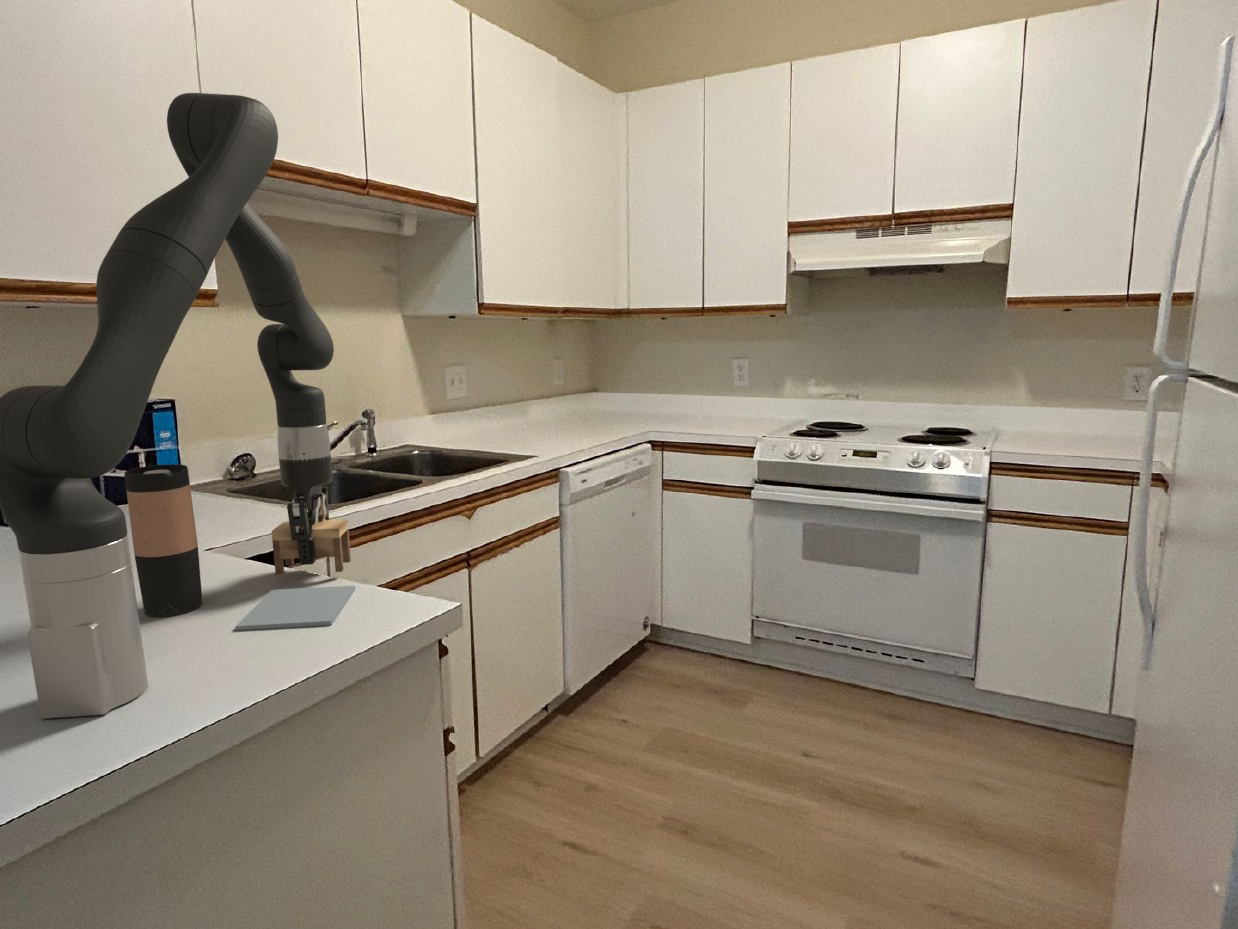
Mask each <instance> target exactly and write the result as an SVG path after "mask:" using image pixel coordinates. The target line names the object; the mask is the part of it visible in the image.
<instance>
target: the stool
mask: <svg viewBox="0 0 1238 929" xmlns="http://www.w3.org/2000/svg"><path fill="white" fill-rule="evenodd" d="M313 530H314V550H315V559H316V558H333V559H334V569H335V573H342V572H343V571H344V569H345V568H344V563H348V564H349V563H351V561H352V558H351V545H350V544H351V542H350V531H349V520H348V519H347V518H346V519H345V518H344V519H329V520H323V521H320V520H318V525H317V526H315V527H314V529H313ZM300 531H301V532H304V527H302V528H301V530H300ZM271 538H272V539H271V540H272V550H273V551H272V552H273V563H274V571H275V572H274V574H275V576H281V575H283V574H284V573H285V568H284V567H285V566H293V565H294V564H295V561H294V560H295V559H299V550H298V542H296V540H294V541H292V539H291V531H290V524H289V521H283V522H281V523H280V524H279V525H278V526H276V527H275V528H274V529H272V530H271ZM284 561H285V566H284Z"/></svg>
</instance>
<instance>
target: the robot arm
mask: <svg viewBox="0 0 1238 929" xmlns="http://www.w3.org/2000/svg"><path fill="white" fill-rule="evenodd" d="M166 116H167V117H166V128H167V134H168V137H169V140H170V143H171V146H172V149H174V150H173V151H174V153H175V154H176V157H177V158H178V160H179V162H180V165H181V166H182V168H183V169H184V170H183V171H185V172H186V175H187V176H188V177H187V178H186V179H185V180H184V181H182V182H180V183H178V184H177V185H175V187H173V188H171V189H170V190H167V191H166V192H165V193H163V194H161V195H160V196H158V197H156V198H155V199H154V200H152V201H151V202H149V203H148V204H146V205H144V206H143V207H142V208H140V209H139V210H138V211H136V212H135V213H134V214H133V215H132V216H131V217H130V218H129V219H128V220H127V221H126V222H125V224H124V225H123V226H122V228H121V229H120V231H119V232H118V234H117V235H116V237H115V239H114V241H113V242H112V244H111V245H110V247H109V249H108V251H107V252H106V254H105V256H104V258H103V259H102V261H101V263H100V266H99V268H98V271H97V277H96V306H97V314H98V315H97V318H98V322H97V323H98V324H97V330H96V333H95V337H94V339H93V341H92V343H91V346H90V348H89V350H88V351H87V353H86V354H85V356H84V358H83V360H82V362H81V363H80V365H79V367H78V368H77V370H76V371H75V373H73V375H72V376H71V378H70V379H69V380H68V382H67V383H66V384H64V385H27V386H20V387H17V388H14V389H11V390H10V391H7V392H6V393H4V394H3V395H2V396H0V510H1V514H2V516H3V518H4V520H5V522H6V524H7V525H8V527H9V528H10V530H11V531H12V532H13V534H14V535H15V538H16V543H17V549H18V555H19V559H20V567H21V573H22V578H23V585H24V591H25V598H26V605H27V609H28V610H27V611H28V616H29V623H30V627H31V628H29V629H28V631H27V634H26V635H27V640H28V641H27V642H28V647H29V654H30V659H31V660H30V661H31V665H32V666H31V667H32V671H33V672H32V673H33V677H34V685H35V690H36V695H37V702H38V709H39V713H40V714H39V715H40V718H41V719H43V720H44V719H54V718H55V719H56V718H70V717H73V718H74V717H87V716H98V715H99V716H100V715H106V714H107V713H108V712H110V711H111V710H113V709H115V708H117V707H119V706H122V705H124V704H126V703H129V702H131V701H133V700H134V699H136V698H138V697H140V695H142V694H143V693H144V692H145V691H146V690H147V688H148V685H149V681H148V675H147V665H146V660H145V653H144V646H143V639H142V630H141V623H140V617H139V610H138V609H139V608H138V602H137V594H136V588H135V587H136V586H135V580H134V573H133V565H132V557H131V550H130V541H129V534H128V528H127V526H128V525H127V520H126V516H125V512H124V511H123V509H121V507H119V506H118V505H116V504H115V503H113V502H112V501H110V500H108V499H107V498H106V497H104V496H103V495H102V494H101V493H100V492H99V490H98V489H97V488H96V486H94V484H93V481H92V478H98V477H100V476H103V475H106V474H107V473H109V472H111V471H112V470H113V469H115V468H116V467H117V466H118V465H119V464H120V463H121V462H122V460H123V459H124V458H125V457H126V455H127V453H128V451H129V449H131V446H132V444H133V442H134V439H135V437H136V435H137V433H138V432H137V431H138V430H139V427H140V424H141V421H142V418H143V415H144V412H145V410H146V407H147V404H148V401H149V398H150V395H151V392H152V391H153V386H154V384H155V382H156V379H157V377H158V375H159V371H160V370H161V368H162V365H163V363H164V361H165V359H166V356H167V354H168V352H169V351H170V348H171V346H172V344H173V342H174V340H175V337H176V335H177V334H178V331H179V329H180V327H181V325H182V323H183V321H184V319H185V317H186V316H187V314H188V313H189V310H190V309H191V307H192V305H193V303H194V301H195V300H196V298H197V296H198V294H199V292H200V291H201V288H202V287H203V284H204V282H205V280H206V278H207V276H208V273H209V272H210V269H211V267H212V265H213V263H214V260H215V258H216V256H217V254H218V252H219V251H220V248H221V247H222V245H223V244H224V242H226V243H227V245H228V247H229V249H230V251H231V253H232V255H233V258H234V259H235V262H236V263H237V267H238V268H239V271H240V273H241V277H242V279H243V281H244V284H245V286H246V290H247V292H248V294H249V297H250V300H251V302H252V304H253V308H254V309H255V311H256V313H257V314H258V316H260V317H261V318H263V319H264V320H268V321H271V322H275V323H273V324H268V325H266V326H265V327H263V328H262V329H261V330H260V332H259V335H258V339H257V344H256V345H257V346H256V347H257V353H258V357H259V360H260V362H261V365H262V367H263V369H264V372H265V375H266V376H267V379H268V382H269V384H270V385H269V386H270V388H271V391H272V395H273V397H274V402H275V410H276V423H277V442H276V443H277V453H278V463H279V473H280V474H279V476H280V484H281V485H282V486H284V487H286V488H292V489H293V490H294V492H293V495H294V496H293V497H292V500H291V502H288V503H287V505H286V510H287V515H288V516H287V518H288V522H289V524H290V531H291V539H292V541H294V540H296V542H298V550H299V558H298V559H299V560H298V561H299V564H300V565H301V566H304V565H305V566H306V565H309V566H310V565H314V564H315V562H316V558H315V550H314V530H313V529H314V527H315V526H317V525H318V520H320V521H323V520H330V515H329V514H330V513H329V512H330V511H329V488H328V486H326V485H327V484H330V483H331V482H332V481H333V467H332V455H331V454H332V452H331V441H330V435H329V431H328V423H327V413H326V411H327V410H326V400H325V399H326V398H325V395H324V394H325V393H324V391H323V390H322V389H321V388H319V387H317V386H313V385H308V384H304V383H301V382H299V381H298V380H297V378H296V377H295V376H294V374H293V372H292V371H320V370H323V369H325V368H326V367H328V366H329V365H330V363H331V362H332V360H333V358H334V354H335V353H334V352H335V351H334V350H335V348H334V342H333V338H332V337H331V334H330V332H329V330H328V328H327V327H326V325H325V323H324V322H323V320H322V319H321V317H320V316H319V314H318V313H317V312H316V310H315V309H314V307H313V306H312V305H311V303H310V301H309V300H308V298H307V297H306V295H305V293H304V290H303V287H302V286H303V285H302V283H301V281H300V280H301V279H300V278H299V275H298V274H299V273H298V272H297V269H296V266H295V263H294V260H293V259H292V257H291V254H290V253H289V251H288V249H287V248H286V245H285V244H284V243H283V242H282V240H280V238H279V237H278V236H277V235H276V233H274V231H273V230H272V229H271V228H270V227H269V226H268V224H266V222H265V221H264V220H263V219H262V218H261V217H260V216H259V215H258V213H257V212H256V211H255V209H253V207H252V206H251V205H250V203H249V200H250V199H251V197H252V196H253V195H254V193H255V192H256V190H258V187H259V186H260V185H261V183H262V182H263V181H264V179H265V178H266V176H267V174H268V173H269V170H270V169H271V167H272V166H273V163H274V160H275V158H276V154H277V150H278V143H279V133H278V132H279V130H278V125H277V122H276V119H275V116H274V114H273V113H272V112H271V110H270V109H269V108H268V107H267V105H265V104H264V103H263V102H261V101H259V100H258V99H256V98H251V97H249V96H244V95H241V94H237V95H236V94H225V93H224V94H221V93H207V92H206V93H205V92H204V93H203V92H202V93H201V92H186V93H185V92H184V93H181V94H178V95H177V96H175V97H174V98H173V99H172V101H171V103H170V104H169V106H168V110H167V114H166ZM324 485H325V486H324ZM302 527H304V532H301V531H300V530H301V528H302Z"/></svg>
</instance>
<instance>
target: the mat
mask: <svg viewBox="0 0 1238 929" xmlns="http://www.w3.org/2000/svg"><path fill="white" fill-rule="evenodd" d="M355 591H356V585H343V586H342V585H340V586H339V585H338V586H323V587H322V586H321V587H320V586H319V587H318V586H317V587H303V588H302V587H301V588H283V589H282V588H281V589H271V590H270V591H269V592H268V593H266V595H265V596H264V597H263V598H262V599H261V600H260V601H259V602H257V604H256V605H255V606H254V607H253V608H252V609H251V610H250V611H249V612H248V613H247V614H246V615H245V616H244V617H243V619H241V620H240V621H239V622H238V623H237V624H236V626H235V630H236V631H237V632H238V631H249V630H250V631H251V630H265V629H266V630H267V629H268V630H270V629H285V628H300V627H301V628H302V627H305V628H306V627H321V626H322V627H323V626H332V625H333V624H334V622H335V621H336V619H338V616H339V615H340V614H341V612H342V610H343V609H344V607H345V606H346V604H347V603H348V602H349V600H350V598H351V597H352V595H353V594H354V592H355Z"/></svg>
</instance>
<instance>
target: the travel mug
mask: <svg viewBox="0 0 1238 929" xmlns="http://www.w3.org/2000/svg"><path fill="white" fill-rule="evenodd" d="M189 474H190V473H189V468H188V466H187V465H185V464H173V463H172V464H170V463H169V464H155V465H154V464H153V465H146V466H141V467H135V468H131V469H128V470H125V472H124V481H125V489H126V498H127V507H128V514H129V521H130V522H129V523H130V531H131V538H132V546H133V554H134V561H135V566H136V567H135V568H136V574H137V577H138V584H139V589H140V595H141V601H142V607H143V610H144V614H145V616H147V617H152V618H168V617H176V616H180V615H183V614H187V613H190V612H193V611H195V610H197V609H198V608H200V607H201V606H203V594H202V593H203V590H202V580H201V579H202V578H201V568H200V557H199V556H200V555H199V545H198V538H197V537H198V535H197V528H196V523H195V522H196V521H195V515H194V507H193V506H194V505H193V498H192V490H191V484H190V475H189Z"/></svg>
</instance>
